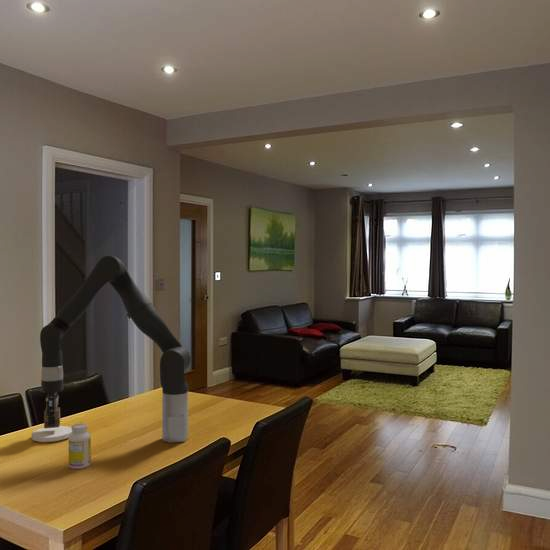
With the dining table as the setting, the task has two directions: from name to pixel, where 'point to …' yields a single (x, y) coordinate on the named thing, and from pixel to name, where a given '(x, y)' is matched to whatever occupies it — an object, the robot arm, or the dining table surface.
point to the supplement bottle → (79, 447)
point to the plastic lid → (51, 434)
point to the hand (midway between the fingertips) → (52, 424)
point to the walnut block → (57, 418)
